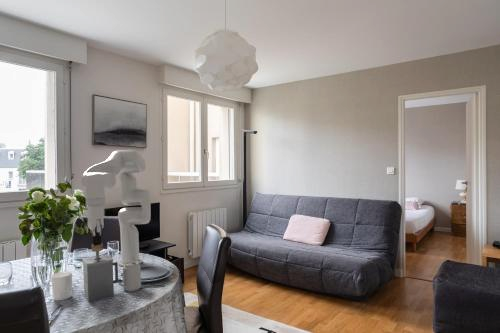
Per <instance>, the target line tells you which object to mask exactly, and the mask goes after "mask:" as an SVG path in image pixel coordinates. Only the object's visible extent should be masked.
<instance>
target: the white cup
mask: <svg viewBox="0 0 500 333" xmlns="http://www.w3.org/2000/svg"><path fill="white" fill-rule="evenodd" d="M50 279H51V280H50V281H51V289H52V298H53V300H54V301H56V302H57V301H64V300H68V299H69V298H71V297H72V293H73V292H72V288H73V272H72V271H70V270H69V271H68V270H67V271H60V272H56V273H53V274H51V275H50Z"/></svg>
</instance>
